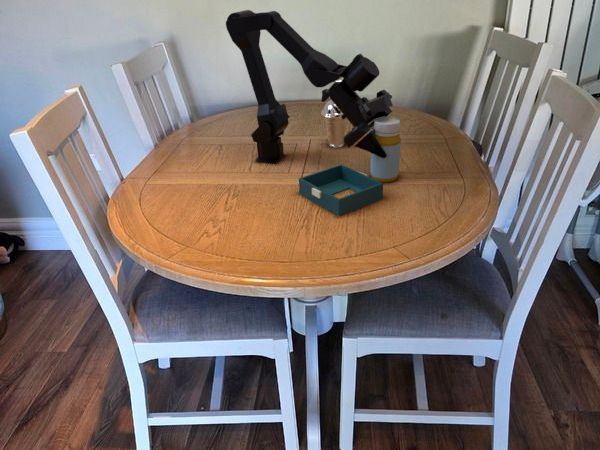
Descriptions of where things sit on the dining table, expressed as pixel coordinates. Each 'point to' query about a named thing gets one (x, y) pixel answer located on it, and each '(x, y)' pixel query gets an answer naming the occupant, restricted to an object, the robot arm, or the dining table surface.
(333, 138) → the cup with straw
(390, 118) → the bottle
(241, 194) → the dining table surface
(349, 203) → the teal square tray
